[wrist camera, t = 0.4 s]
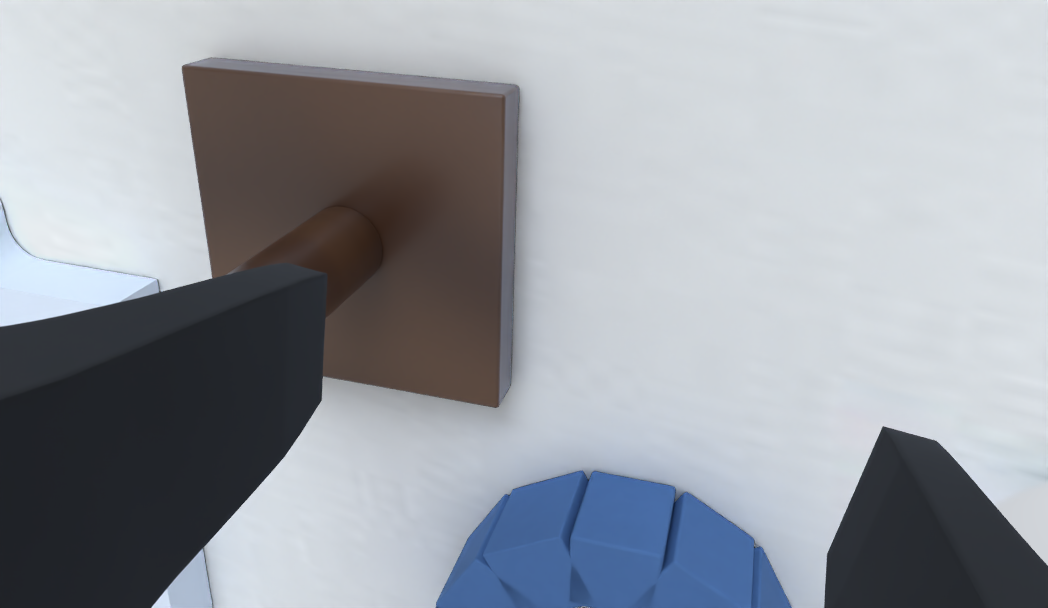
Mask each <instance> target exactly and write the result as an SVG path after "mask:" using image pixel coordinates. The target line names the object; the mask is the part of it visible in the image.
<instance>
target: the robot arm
mask: <svg viewBox="0 0 1048 608" xmlns="http://www.w3.org/2000/svg"><path fill="white" fill-rule="evenodd" d="M326 295H327V274H326V273H323V272H319V271H315V270H312V269H308V268H305V267H301V266H297V265H294V264H290V263H279V264H272V265H266V266H261V267H257V268H252V269H248V270H244V271H240V272H236V273H232V274H228V275H224V276H220V277H216V278H213V279H209V280H205V281H201V282H197V283H194V284H190V285H186V286H182V287H178V288H175V289H171V290H167V291H163V292H159V293H155V294H152V295H148V296H144V297H140V298H136V299H131V300H127V301H123V302H118V303H114V304H110V305H105V306H101V307H97V308H92V309H88V310H83V311H79V312H75V313H70V314H66V315H62V316H57V317H52V318H47V319H42V320H36V321H31V322H25V323H20V324H14V325H8V326H1V327H0V608H151V607H152V606H153V605H154V604H155V603H156V601H157V600H158V599H159V598H160V597H161V595H162V594H163V593H164V592H165V590H166V589H167V588H168V587H169V586H170V584H171V583H172V582H173V581H174V580H175V578H176V577H177V576H178V575H179V574H180V573H181V572H182V571H183V570H184V568H185V567H186V566H187V565H188V564H189V563H190V562H191V561H192V560H193V558H194V557H195V556H196V555H197V554H198V553H199V552H200V551H201V550H202V549H203V547H204V546H205V545H206V544H207V543H208V542H209V541H210V540H211V539H212V537H213V536H214V535H215V534H216V533H217V532H218V531H219V530H220V529H221V528H222V526H223V525H224V524H225V523H226V522H227V521H228V520H229V519H230V518H231V516H232V515H233V514H234V513H235V512H236V511H237V510H238V509H239V508H240V507H241V505H242V504H243V503H244V502H245V501H246V500H247V499H248V498H249V496H250V495H251V494H252V493H253V492H254V491H255V490H256V489H257V487H258V486H259V485H260V484H261V483H262V482H263V481H264V480H265V478H266V477H267V476H268V475H269V474H270V473H271V472H272V471H273V469H274V468H275V467H276V466H277V465H278V464H279V462H280V461H281V460H282V459H283V458H284V456H285V455H286V454H287V452H288V451H289V449H290V448H291V446H292V445H293V443H294V442H295V441H296V439H297V438H298V436H299V435H300V433H301V432H302V430H303V429H304V427H305V426H306V424H307V422H308V421H309V419H310V418H311V416H312V415H313V413H314V411H315V410H316V408H317V407H318V405H319V404H320V402H321V399H322V378H323V357H324V337H325V316H326ZM824 608H1048V566H1047V565H1046V563H1045V562H1044V561H1043V560H1042V559H1041V558H1040V557H1039V556H1038V555H1037V554H1036V552H1035V551H1034V550H1033V549H1032V548H1031V547H1030V546H1029V544H1028V543H1027V542H1026V541H1025V540H1024V539H1023V538H1022V537H1021V535H1020V534H1019V533H1018V532H1017V531H1016V530H1015V529H1014V527H1013V526H1012V525H1011V524H1010V523H1009V522H1008V520H1007V519H1006V518H1005V517H1004V516H1003V515H1002V514H1001V512H1000V511H999V510H998V509H997V508H996V507H995V505H994V504H993V503H992V502H991V501H990V500H989V498H988V497H987V496H986V495H985V494H984V493H983V491H982V490H981V489H980V488H979V487H978V486H977V484H976V483H975V482H974V481H973V480H972V479H971V478H970V476H969V475H968V474H967V473H966V472H965V471H964V469H963V468H962V467H961V466H960V465H959V464H958V463H957V462H956V461H955V459H954V458H953V457H952V456H951V455H950V454H949V453H948V452H947V451H946V450H945V449H944V448H943V447H942V446H941V445H940V444H939V443H938V442H937V441H934V440H931V439H927V438H924V437H920V436H916V435H913V434H909V433H905V432H902V431H898V430H894V429H891V428H887V427H884V426H883V427H882V430H881V432H880V434H879V436H878V439H877V441H876V443H875V446H874V448H873V450H872V453H871V455H870V457H869V459H868V462H867V464H866V466H865V469H864V471H863V473H862V475H861V478H860V480H859V482H858V485H857V487H856V489H855V492H854V494H853V496H852V498H851V501H850V503H849V505H848V508H847V510H846V512H845V514H844V517H843V519H842V521H841V524H840V526H839V528H838V531H837V533H836V535H835V537H834V540H833V542H832V544H831V547H830V549H829V551H828V553H827V567H826V584H825V606H824Z"/></svg>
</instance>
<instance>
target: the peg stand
mask: <svg viewBox="0 0 1048 608" xmlns="http://www.w3.org/2000/svg"><path fill="white" fill-rule="evenodd" d="M182 74H183V81H184V87H185V94H186V101H187V108H188V115H189V122H190V128H191V135H192V142H193V149H194V156H195V162H196V169H197V176H198V183H199V190H200V197H201V203H202V210H203V217H204V224H205V231H206V237H207V244H208V251H209V258H210V265H211V272H212V278H216V277H220V276H224V275H228V274H232V273H236V272H240V271H244V270H248V269H252V268H257V267H261V266H266V265H272V264H279V263H290V264H294V265H297V266H301V267H305V268H308V269H312V270H315V271H319V272H323V273H326V274H327V295H326V316H325V337H324V357H323V377H329V378H334V379H340V380H345V381H351V382H356V383H362V384H367V385H373V386H379V387H384V388H390V389H395V390H401V391H406V392H412V393H417V394H423V395H428V396H434V397H439V398H445V399H450V400H456V401H461V402H467V403H472V404H478V405H483V406H489V407H494V408H497V407H499V405H500V403H501V402H502V400H503V398H504V396H505V395H506V393H507V391H508V389H509V387H510V386H511V361H512V325H513V289H514V253H515V217H516V181H517V145H518V109H519V87H518V86H517V85H513V84H502V83H491V82H480V81H468V80H457V79H446V78H435V77H423V76H412V75H401V74H390V73H379V72H367V71H356V70H345V69H334V68H323V67H311V66H300V65H289V64H278V63H266V62H255V61H244V60H233V59H222V58H207V59H204V60H200V61H196V62H193V63H189V64H186V65H183V66H182Z"/></svg>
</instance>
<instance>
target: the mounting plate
mask: <svg viewBox="0 0 1048 608" xmlns="http://www.w3.org/2000/svg"><path fill="white" fill-rule="evenodd" d="M155 293H159V288H158V282H157V279H153V278H147V277H141V276H135V275H129V274H123V273H118V272H112V271H106V270H100V269H94V268H88V267H82V266H76V265H70V264H65V263H59V262H53V261H47V260H42V259H38V258H35V257H33V256H31V255H30V254H28V253H27V252H25V251H24V250H23V249H22V248H21V247H20V246H19V245H18V244H17V243H16V241H15V240H14V238H13V237H12V235H11V233H10V231H9V228H8V226H7V222H6V218H5V214H4V210H3V207H2V204H1V201H0V327H1V326H8V325H14V324H20V323H25V322H31V321H36V320H42V319H47V318H52V317H57V316H62V315H66V314H70V313H75V312H79V311H83V310H88V309H92V308H97V307H101V306H105V305H110V304H114V303H118V302H123V301H127V300H131V299H136V298H140V297H144V296H148V295H152V294H155ZM151 608H213V606H212V600H211V594H210V588H209V582H208V576H207V570H206V564H205V558H204V553H203V549H202V550H201V551H200V552H199V553H198V554H197V555H196V556H195V557H194V558H193V560H192V561H191V562H190V563H189V564H188V565H187V566H186V567H185V568H184V570H183V571H182V572H181V573H180V574H179V575H178V576H177V577H176V578H175V580H174V581H173V582H172V583H171V584H170V586H169V587H168V588H167V589H166V590H165V592H164V593H163V594H162V595H161V597H160V598H159V599H158V600H157V601H156V603H155V604H154V605H153V606H152V607H151Z"/></svg>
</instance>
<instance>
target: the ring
mask: <svg viewBox="0 0 1048 608" xmlns="http://www.w3.org/2000/svg"><path fill="white" fill-rule="evenodd" d="M675 493H676V490H675V487H673V486H669V485H664V484H658V483H653V482H648V481H643V480H638V479H633V478H628V477H622V476H617V475H612V474H607V473H602V472H597V471H593V472H592V474H591V476H590V479H589V481H588V479H587V477H586V476H585V474H584V472H583V471H578V472H574V473H571V474H567V475H563V476H560V477H556V478H552V479H549V480H545V481H541V482H538V483H534V484H530V485H527V486H523V487H519V488H516V489H513V490H512V492H511V494H510V496H508V495H507V494H506V495H504V496H503V497H502V498H501V500H500V501H499V502H498V503H497V504H496V506H495V507H494V508H493V509H492V510H491V512H490V513H489V514H488V515H487V516H486V518H485V519H484V520H483V521H482V522H481V523H480V525H479V526H478V527H477V528H476V529H475V531H474V532H473V533H472V534H471V535H470V537H469V538H468V540H467V542H466V544H465V546H464V548H463V550H462V552H461V554H460V556H459V558H458V560H457V562H456V564H455V566H454V568H453V570H452V572H451V574H450V576H449V578H448V580H447V582H446V584H445V586H444V588H443V590H442V592H441V594H440V596H439V598H438V600H437V602H436V608H576V607H581V606H587V607H591V608H792V607H791V605H790V603H789V601H788V599H787V597H786V595H785V593H784V591H783V589H782V587H781V585H780V583H779V581H778V579H777V577H776V575H775V573H774V571H773V569H772V567H771V565H770V563H769V561H768V559H767V556H766V554H765V552H764V550H763V549H762V547H756V548H754V539H753V538H752V537H751V536H749V535H748V534H747V533H745V532H744V531H742V530H741V529H739V528H738V527H737V526H735V525H734V524H732V523H731V522H729V521H728V520H727V519H725V518H724V517H722V516H721V515H719V514H718V513H717V512H715V511H714V510H712V509H711V508H709V507H708V506H707V505H705V504H704V503H702V502H701V501H699V500H698V499H697V498H695V497H694V496H692V495H691V494H689V493H688V492H685V493H684V494H683V495H681V496H680V497H679V498H678V499H677V500H676V501H675V502H674V500H675Z"/></svg>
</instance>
